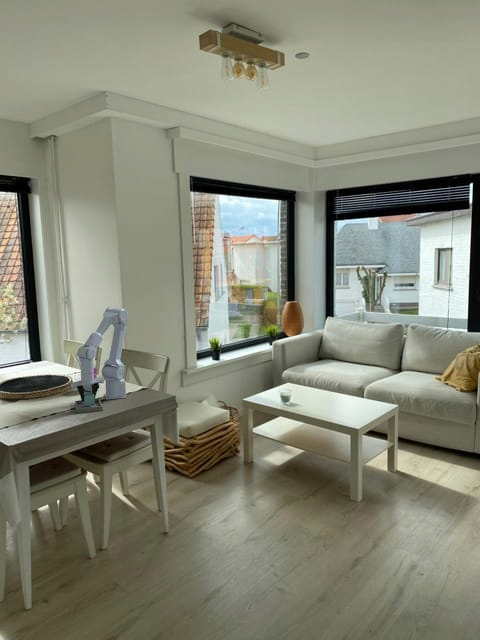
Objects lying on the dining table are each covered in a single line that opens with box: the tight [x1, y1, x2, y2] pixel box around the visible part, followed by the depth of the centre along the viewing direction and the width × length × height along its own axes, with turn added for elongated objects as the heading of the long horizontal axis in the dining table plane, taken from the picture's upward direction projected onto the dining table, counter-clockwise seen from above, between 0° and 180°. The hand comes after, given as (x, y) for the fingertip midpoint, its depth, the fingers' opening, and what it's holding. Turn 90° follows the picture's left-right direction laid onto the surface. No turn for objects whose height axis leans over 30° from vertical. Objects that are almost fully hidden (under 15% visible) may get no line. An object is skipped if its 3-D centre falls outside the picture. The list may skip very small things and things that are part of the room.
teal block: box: [82, 392, 96, 406], centre depth 224 cm, size 4×4×4 cm
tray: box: [74, 397, 104, 414], centre depth 225 cm, size 11×11×2 cm
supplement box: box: [83, 367, 98, 393], centre depth 248 cm, size 6×6×12 cm
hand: (88, 400), depth 224 cm, fingers closed on teal block, 4 cm apart
